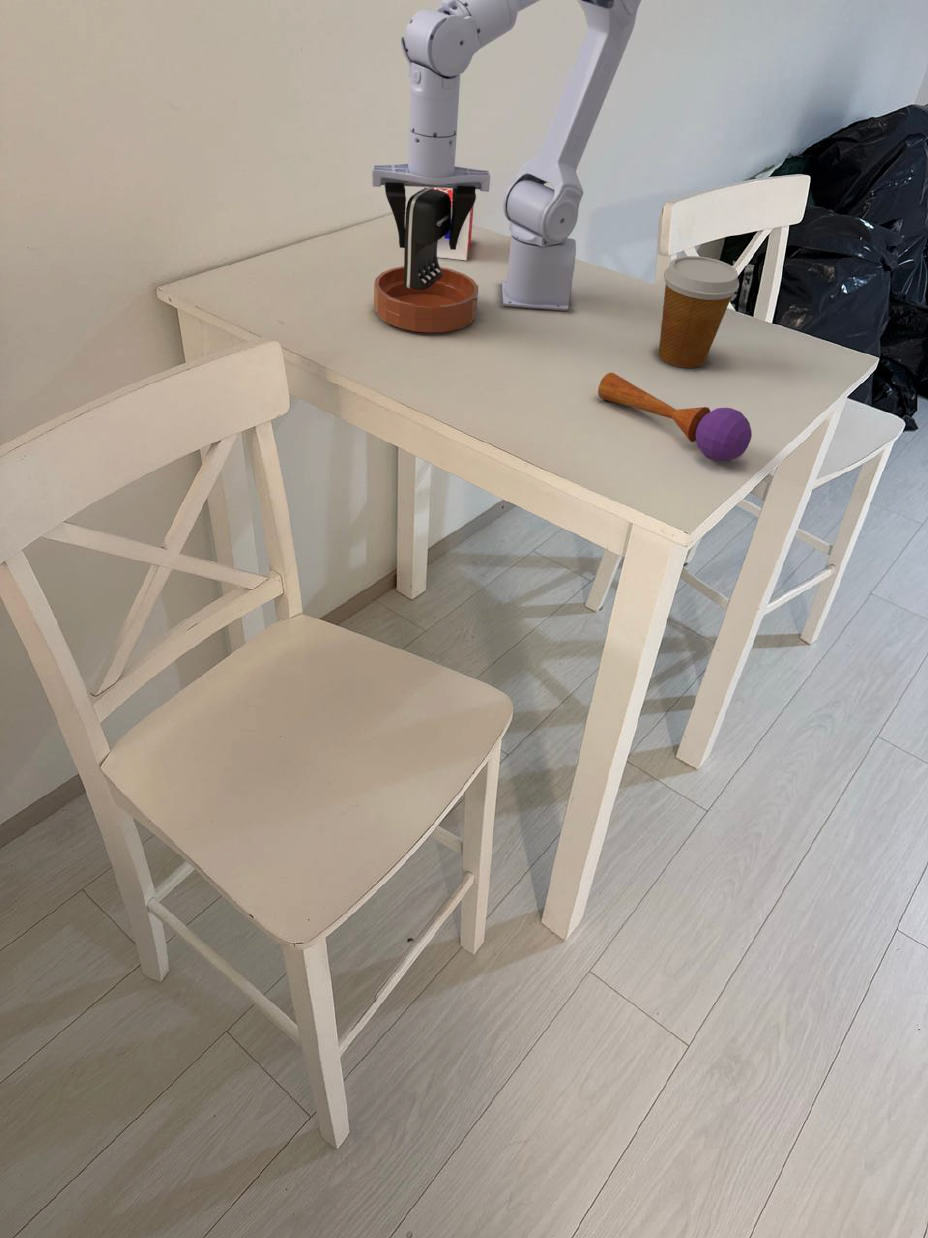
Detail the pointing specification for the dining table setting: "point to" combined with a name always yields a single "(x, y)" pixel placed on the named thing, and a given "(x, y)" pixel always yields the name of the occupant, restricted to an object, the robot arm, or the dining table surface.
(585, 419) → the dining table surface
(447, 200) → the battery charger
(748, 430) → the kendama
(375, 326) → the dining table surface
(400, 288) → the bowl
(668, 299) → the disposable coffee cup
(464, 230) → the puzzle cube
